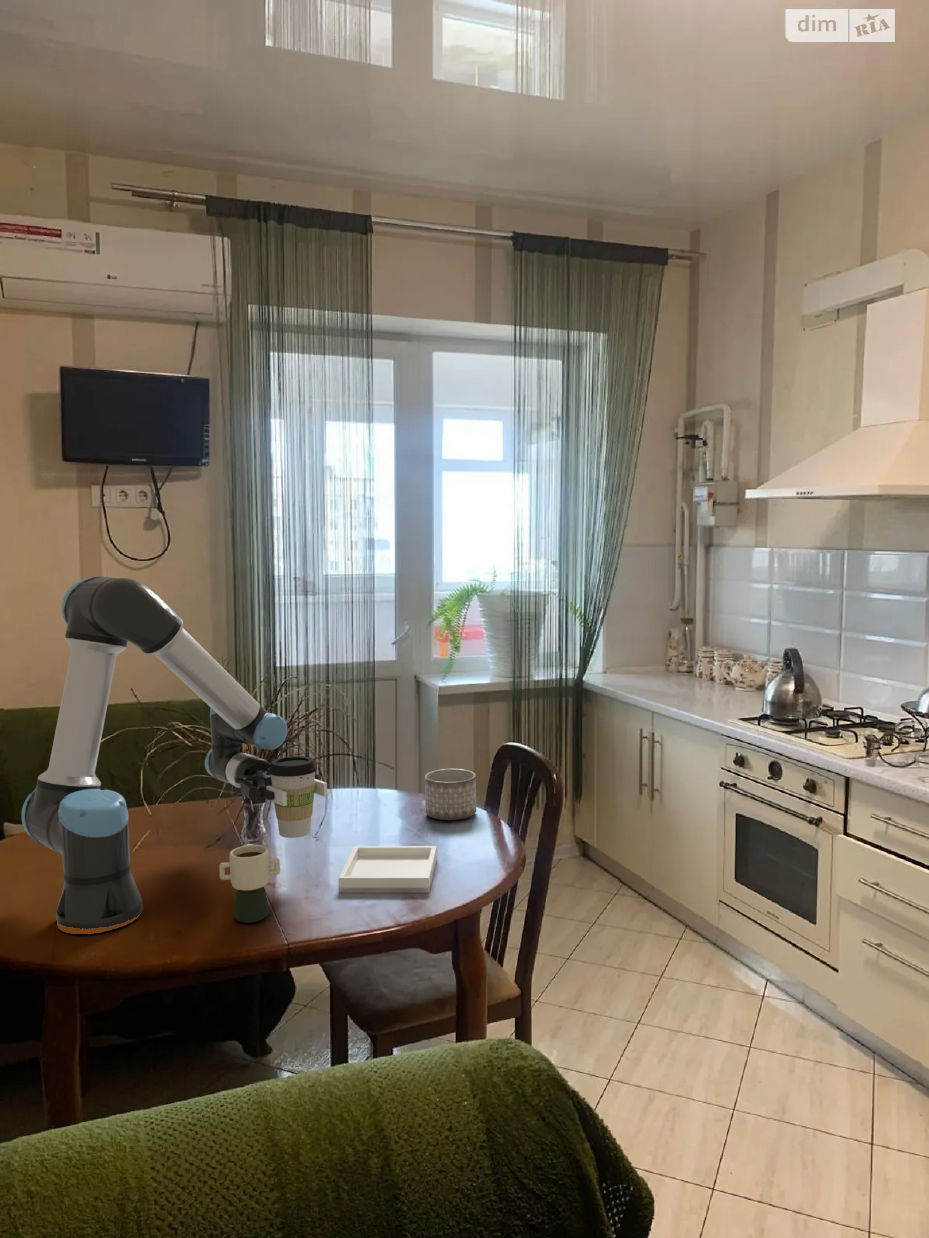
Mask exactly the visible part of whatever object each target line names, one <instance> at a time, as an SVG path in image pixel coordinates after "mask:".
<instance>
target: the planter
mask: <svg viewBox="0 0 929 1238" xmlns="http://www.w3.org/2000/svg"><path fill="white" fill-rule="evenodd" d="M476 775H477V774H476V773H475V772H474V771H472V770H469V769H464V768H443V769H442V768H441V769H436V770H432V771H429V772H427V773H426V774H425V776H424V789H425V790H424V792H425V814H426V815H427V816H429V818H433V819H437V820H444V821H456V820H457V819H458V820H461V819H467V818H471V817H473V816H474V815H475V814H476V813H477V777H476Z"/></svg>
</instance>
